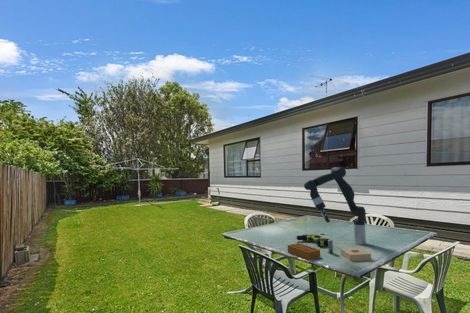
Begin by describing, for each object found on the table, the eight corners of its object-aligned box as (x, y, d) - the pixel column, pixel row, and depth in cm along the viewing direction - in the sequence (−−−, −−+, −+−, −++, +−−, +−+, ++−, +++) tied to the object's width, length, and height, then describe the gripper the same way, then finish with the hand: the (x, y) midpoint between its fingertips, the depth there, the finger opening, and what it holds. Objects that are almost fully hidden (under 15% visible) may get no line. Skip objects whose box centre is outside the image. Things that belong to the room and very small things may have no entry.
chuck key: (327, 252, 224) (327, 240, 225) (332, 252, 224) (331, 239, 225) (329, 253, 221) (328, 241, 221) (333, 253, 221) (333, 241, 221)
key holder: (340, 254, 218) (340, 248, 218) (360, 253, 219) (360, 247, 219) (350, 261, 202) (349, 254, 202) (371, 260, 203) (371, 253, 203)
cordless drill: (302, 247, 239) (294, 240, 264) (330, 247, 240) (319, 240, 265) (302, 239, 239) (294, 233, 264) (330, 239, 241) (319, 232, 266)
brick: (287, 252, 230) (287, 245, 230) (298, 250, 235) (298, 242, 236) (309, 260, 208) (308, 252, 208) (320, 257, 213) (320, 249, 214)
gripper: (324, 201, 218) (333, 220, 213) (322, 201, 231) (331, 220, 227) (315, 204, 219) (324, 224, 214) (314, 205, 232) (323, 223, 228)
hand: (328, 222), depth 220 cm, fingers open, 8 cm apart
